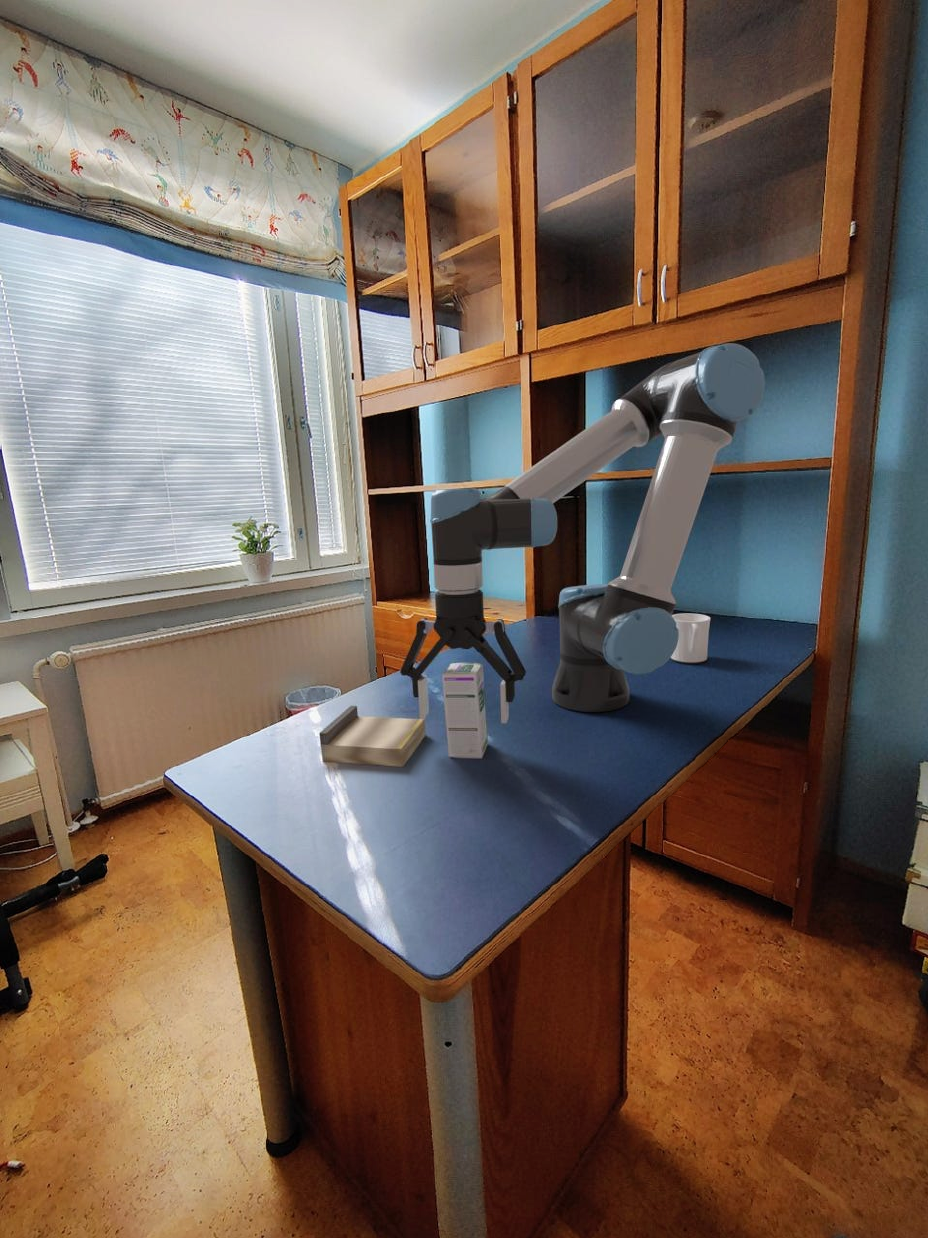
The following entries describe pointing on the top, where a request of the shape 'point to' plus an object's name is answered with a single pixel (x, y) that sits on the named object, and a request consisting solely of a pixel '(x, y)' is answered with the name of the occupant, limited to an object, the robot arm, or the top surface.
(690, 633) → the mug
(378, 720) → the dock
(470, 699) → the syrup box
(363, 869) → the top surface
